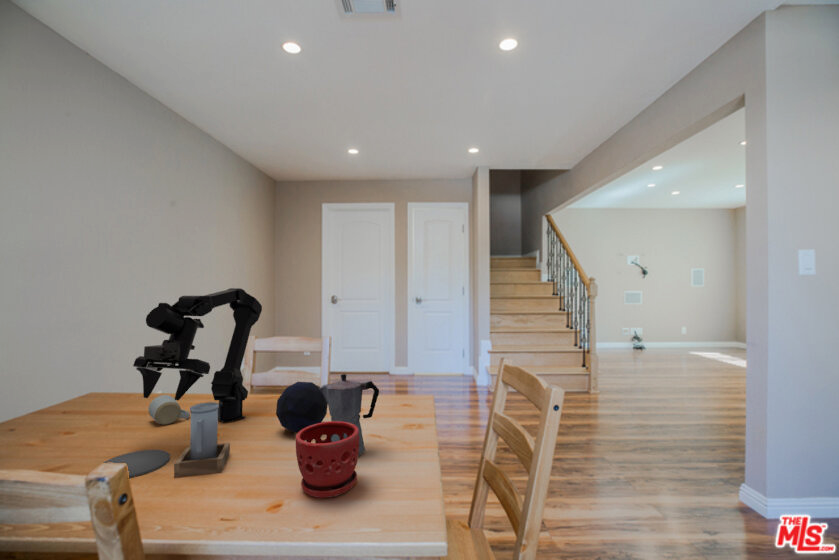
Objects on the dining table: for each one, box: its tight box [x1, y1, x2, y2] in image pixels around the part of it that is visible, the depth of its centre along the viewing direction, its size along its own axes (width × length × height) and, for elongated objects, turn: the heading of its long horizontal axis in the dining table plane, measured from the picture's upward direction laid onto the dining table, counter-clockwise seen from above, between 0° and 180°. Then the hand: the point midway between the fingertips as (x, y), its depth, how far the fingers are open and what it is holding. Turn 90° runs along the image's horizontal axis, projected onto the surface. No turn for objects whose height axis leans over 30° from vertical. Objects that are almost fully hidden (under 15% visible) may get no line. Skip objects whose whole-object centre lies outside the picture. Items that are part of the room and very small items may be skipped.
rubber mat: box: [103, 449, 171, 479], centre depth 93 cm, size 14×14×1 cm
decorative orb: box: [275, 381, 328, 434], centre depth 116 cm, size 14×15×15 cm
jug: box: [189, 401, 219, 460], centre depth 92 cm, size 8×6×14 cm
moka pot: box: [319, 373, 380, 456], centre depth 101 cm, size 10×15×20 cm, turn 95°
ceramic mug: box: [148, 394, 191, 426], centre depth 124 cm, size 11×8×8 cm
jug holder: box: [173, 442, 231, 478], centre depth 93 cm, size 10×10×3 cm
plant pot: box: [295, 420, 359, 499], centre depth 83 cm, size 13×13×12 cm
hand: (160, 399), depth 100 cm, fingers open, 9 cm apart
